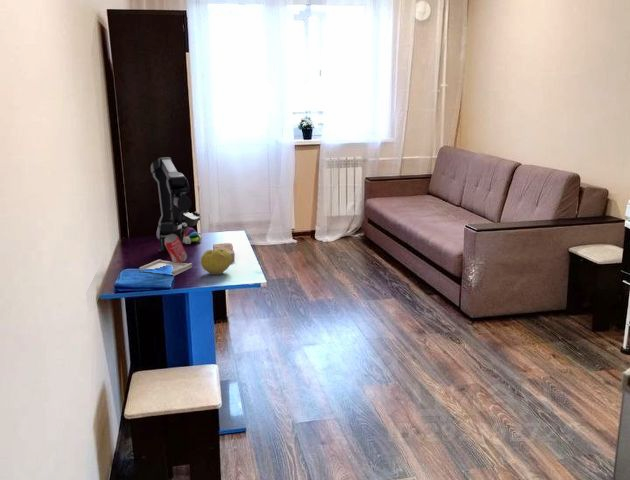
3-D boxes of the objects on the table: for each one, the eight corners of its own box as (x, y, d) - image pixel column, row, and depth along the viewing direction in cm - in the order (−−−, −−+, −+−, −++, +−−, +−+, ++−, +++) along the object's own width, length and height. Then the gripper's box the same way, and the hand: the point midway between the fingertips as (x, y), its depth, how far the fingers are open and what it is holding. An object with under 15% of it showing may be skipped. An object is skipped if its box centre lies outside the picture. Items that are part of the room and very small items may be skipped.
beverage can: (173, 255, 248) (163, 234, 241) (188, 253, 248) (178, 231, 240) (172, 266, 244) (162, 244, 236) (187, 263, 243) (177, 241, 236)
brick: (235, 262, 248) (234, 252, 247) (214, 264, 246) (214, 253, 245) (232, 253, 263) (231, 242, 262) (213, 254, 262) (212, 243, 261)
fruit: (233, 277, 227) (232, 252, 225) (201, 279, 225) (200, 253, 223) (231, 269, 238) (230, 244, 235) (201, 270, 236) (200, 246, 233)
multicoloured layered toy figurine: (193, 239, 286) (192, 224, 284) (204, 243, 279) (203, 228, 277) (177, 242, 281) (176, 227, 279) (188, 246, 274) (187, 230, 272)
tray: (139, 271, 235) (139, 267, 234) (159, 263, 246) (159, 259, 246) (173, 276, 229) (173, 272, 228) (192, 267, 241) (192, 263, 240)
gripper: (181, 211, 230) (184, 251, 234) (207, 203, 247) (209, 240, 250) (157, 209, 234) (160, 248, 238) (184, 202, 251) (186, 238, 254)
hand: (180, 243), depth 245 cm, fingers closed
